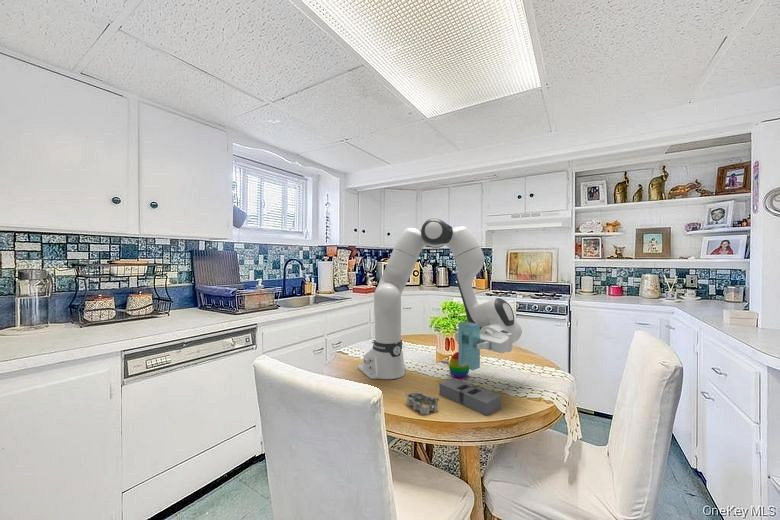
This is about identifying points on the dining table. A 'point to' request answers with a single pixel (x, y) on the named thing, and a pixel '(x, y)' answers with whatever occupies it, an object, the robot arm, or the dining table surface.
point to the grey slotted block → (470, 396)
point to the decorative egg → (457, 367)
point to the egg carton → (419, 400)
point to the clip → (469, 345)
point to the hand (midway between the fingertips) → (467, 344)
